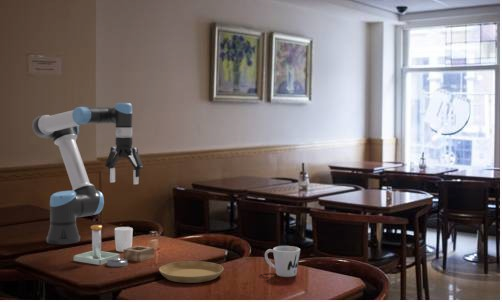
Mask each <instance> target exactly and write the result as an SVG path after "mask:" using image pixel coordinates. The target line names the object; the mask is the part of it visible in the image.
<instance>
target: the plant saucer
mask: <svg viewBox="0 0 502 302" xmlns="http://www.w3.org/2000/svg"><path fill="white" fill-rule="evenodd" d="M158 270H159V273H160V274H161V275H162V277H163V278H164V279H166V280H169V281H171V282H176V283H182V284H183V283H184V284H197V283H205V282H211V281H213V280H215V279H216V278H218V277H219V276H220V275H221V274H222V273H223V271H224V267H223V265H221V264H218V263H215V262H210V261H201V260H200V261H197V260H193V261H191V260H188V261H186V260H185V261H176V262H175V261H174V262H169V263H166V264H164V265H162V266H160V267H159V268H158Z"/></svg>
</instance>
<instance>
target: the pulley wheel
mask: <svg viewBox="0 0 502 302" xmlns="http://www.w3.org/2000/svg"><path fill="white" fill-rule="evenodd" d="M128 262H129V260H127V259H123V258H121V257H120V258H115V259H110V260H108V261H107V263H106V265H107V267H110V268H123V267H126V266H128V265H129V264H128Z"/></svg>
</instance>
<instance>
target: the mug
mask: <svg viewBox="0 0 502 302" xmlns="http://www.w3.org/2000/svg"><path fill="white" fill-rule="evenodd" d="M269 253H273V260H274V264H273V263H272V262H271V261H270V259H269V257H268V254H269ZM300 254H301V248H299V247H297V246H292V245H291V246H290V245H278V246H275V247H273V249H271V248H269V249H267V250H266V251H265V252H264V259H265V261H266V263H267V264H268V266H270V267H271V268H272V269H275V273H276V275H277V276H279V277H282V278H283V277H284V278H292V277H295V276H297V272H298V265H299V260H300Z"/></svg>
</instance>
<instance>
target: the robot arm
mask: <svg viewBox="0 0 502 302" xmlns="http://www.w3.org/2000/svg"><path fill="white" fill-rule="evenodd" d="M89 124H101V125H102V124H107V125H108V124H115V126H114V127H115V136H116V137H115V145H116V146H111V147H110V152H109V153H108V157H107V159H106V162H105V164H104V165H105V167H107V168H108V175H109V183H110V184H111V183H115V182H116V167H115V166H116V164H117V163H118V162H119V160H120V159H121V158H126V159H128V161H129V162H130V164H131V165H132V167H133V170H132V171H133V175H132V176H133V177H132V178H133V180H132V181H133V185H139V181H140V180H139V178H140V175H141V173H140V171H141V170H142V169H144V164H143V162H142V159H141V156H140V154H139V150H138V149H139V148H138V147H132V146H133V105H132V103H130V102H117V103H115V106H113V107H112V106H78V107H75V108H74V109H73V110H68V111H64V112H60V113H56V114H44V115H43V114H42V115H39V116H37V117H36V118H34V120H33V121H32V125H31V126H32V131H33V133H34V134H35V135H36V136H37V137H39V138H42V139H51V140H52V141H53V144H54V145H56V146H57V147H58V149H59V153H60V154H61V155H60V156H61V158H62V161H63V164H64V167H65V170H66V173H67V175H68V179H69V182H70V184H71V187H72V190H61V191H57V192H54V193H52V195H50V199H49V221H50V222H49V223H50V225H49V230H48V232H47V236H46V244H49V245H71V244H72V245H73V244H76V243H79V242H80V241H81V235H80V234H79V229H78V227H77V218H83V217H88V216H91V217H92V216H93V215H95V216H96V215H98V214H100V213H101V211H102V210H103V209H104V204H105V199H104V198H105V197H104V194H103V193H102V192H101V191H100V190H97V189H96V187H95V185H94V184H93V183H91V182H90V178H89V177H88V174H87V170H86V167H85V165H84V161H83V159H82V157H81V156H82V155H81V153H80V150H79V148H78V144H77V142H76V141H77V139H78V135H79V133H80V130H79V129H80V126H84V125H85V126H86V125H89Z"/></svg>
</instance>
